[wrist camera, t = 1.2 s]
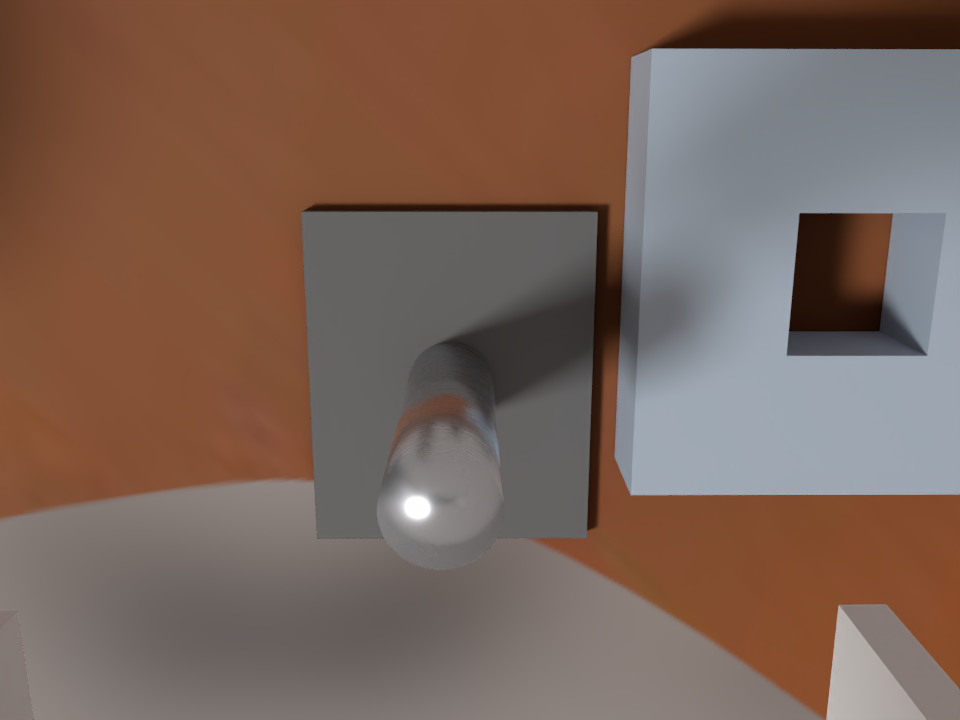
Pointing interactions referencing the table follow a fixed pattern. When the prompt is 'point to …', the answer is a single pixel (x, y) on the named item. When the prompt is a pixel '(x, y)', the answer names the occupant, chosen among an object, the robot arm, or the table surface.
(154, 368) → the table surface
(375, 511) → the mat
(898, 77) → the socket block
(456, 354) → the pin
